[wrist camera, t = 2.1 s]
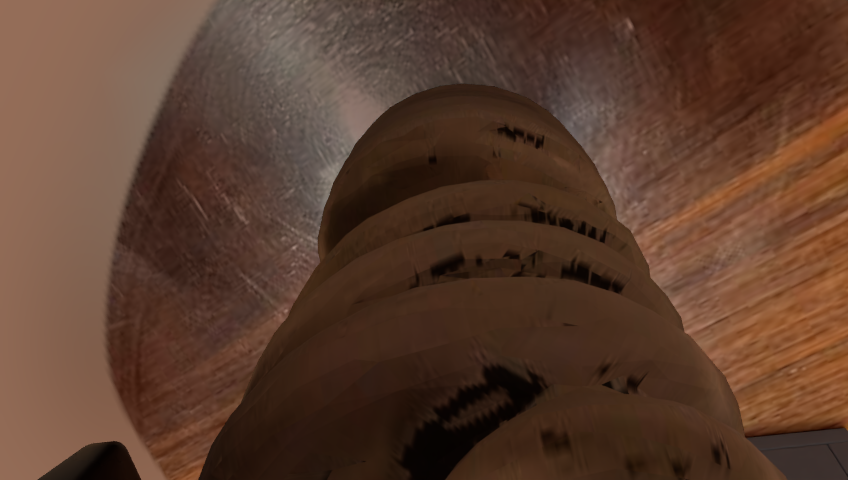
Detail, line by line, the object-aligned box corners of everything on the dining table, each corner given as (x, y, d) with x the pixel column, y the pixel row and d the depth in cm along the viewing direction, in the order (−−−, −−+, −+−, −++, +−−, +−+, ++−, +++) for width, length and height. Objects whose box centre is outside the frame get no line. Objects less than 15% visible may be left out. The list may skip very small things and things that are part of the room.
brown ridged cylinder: (562, 0, 17) (903, 402, 4) (600, 204, 19) (898, 918, 6) (341, 60, 18) (-39, 557, 5) (401, 248, 20) (266, 952, 7)
